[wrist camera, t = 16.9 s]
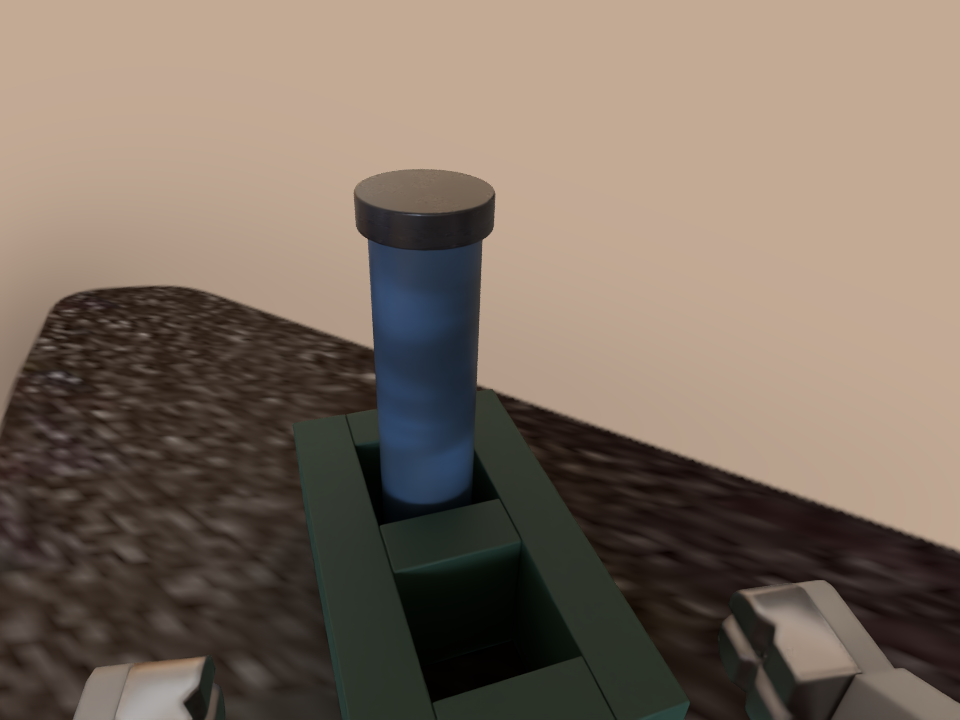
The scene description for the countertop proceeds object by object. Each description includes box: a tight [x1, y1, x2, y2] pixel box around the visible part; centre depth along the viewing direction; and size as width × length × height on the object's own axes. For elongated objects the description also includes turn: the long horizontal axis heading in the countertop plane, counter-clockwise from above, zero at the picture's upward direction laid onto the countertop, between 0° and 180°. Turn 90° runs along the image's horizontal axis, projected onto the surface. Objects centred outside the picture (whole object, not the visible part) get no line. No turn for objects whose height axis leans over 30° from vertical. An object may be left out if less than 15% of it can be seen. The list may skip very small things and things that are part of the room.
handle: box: [354, 169, 495, 524], centre depth 22 cm, size 4×4×15 cm
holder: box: [293, 389, 690, 720], centre depth 22 cm, size 8×14×5 cm, turn 19°
